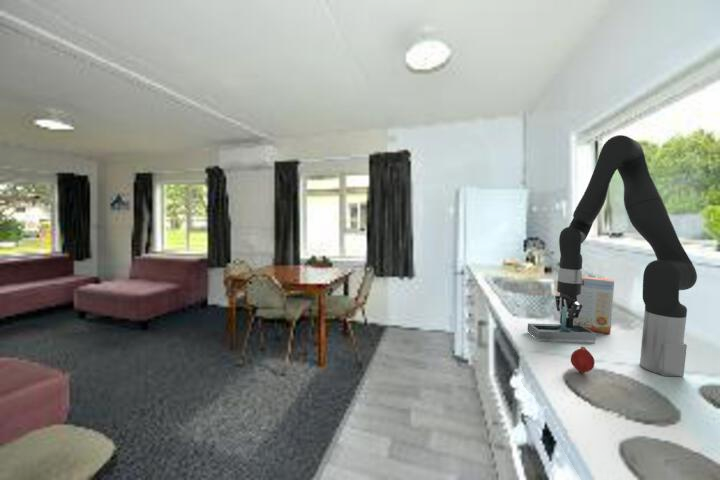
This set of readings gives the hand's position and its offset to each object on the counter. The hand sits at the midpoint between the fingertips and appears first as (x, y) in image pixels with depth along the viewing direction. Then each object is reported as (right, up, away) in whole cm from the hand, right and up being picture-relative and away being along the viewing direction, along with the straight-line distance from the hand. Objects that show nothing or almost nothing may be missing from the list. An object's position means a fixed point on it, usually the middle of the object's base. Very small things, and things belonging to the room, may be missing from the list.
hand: (566, 325), depth 127 cm
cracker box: (+16, -4, +11) cm, 20 cm away
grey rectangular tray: (-2, -4, 0) cm, 5 cm away
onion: (-13, -7, -28) cm, 32 cm away
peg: (0, -3, 0) cm, 3 cm away
